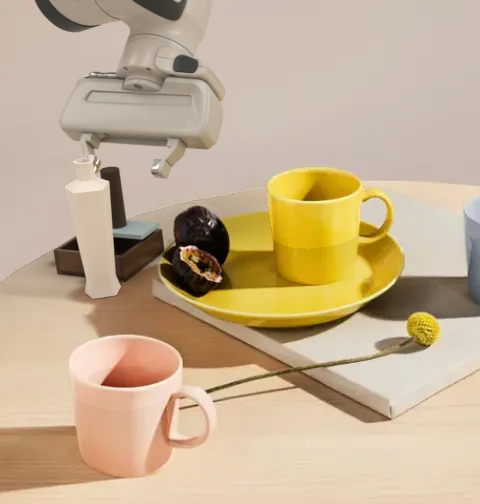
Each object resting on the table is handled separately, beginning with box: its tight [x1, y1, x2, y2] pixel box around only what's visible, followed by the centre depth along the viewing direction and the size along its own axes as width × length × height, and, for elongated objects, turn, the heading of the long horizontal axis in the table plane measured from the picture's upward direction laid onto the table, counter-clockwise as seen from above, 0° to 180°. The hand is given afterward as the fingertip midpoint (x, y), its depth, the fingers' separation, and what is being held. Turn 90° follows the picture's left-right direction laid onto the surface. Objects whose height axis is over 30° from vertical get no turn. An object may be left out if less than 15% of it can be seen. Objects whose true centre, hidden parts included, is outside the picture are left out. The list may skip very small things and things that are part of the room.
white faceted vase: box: [64, 157, 122, 300], centre depth 101 cm, size 5×4×15 cm
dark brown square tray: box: [52, 228, 165, 282], centre depth 111 cm, size 9×9×3 cm
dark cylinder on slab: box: [99, 166, 160, 240], centre depth 111 cm, size 9×4×8 cm, turn 73°
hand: (123, 173), depth 113 cm, fingers open, 8 cm apart
